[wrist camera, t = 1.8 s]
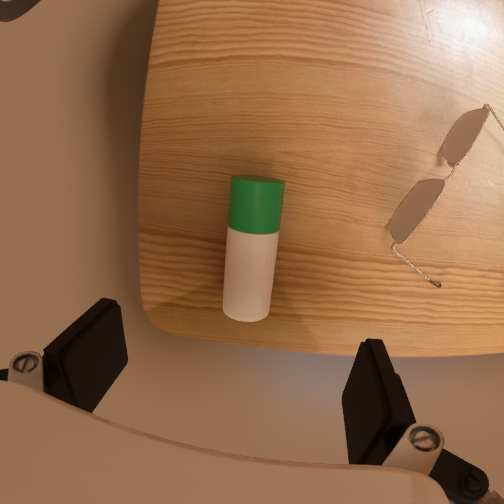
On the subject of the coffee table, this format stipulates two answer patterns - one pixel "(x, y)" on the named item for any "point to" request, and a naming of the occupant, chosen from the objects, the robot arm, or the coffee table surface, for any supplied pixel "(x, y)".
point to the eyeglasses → (430, 190)
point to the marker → (251, 246)
